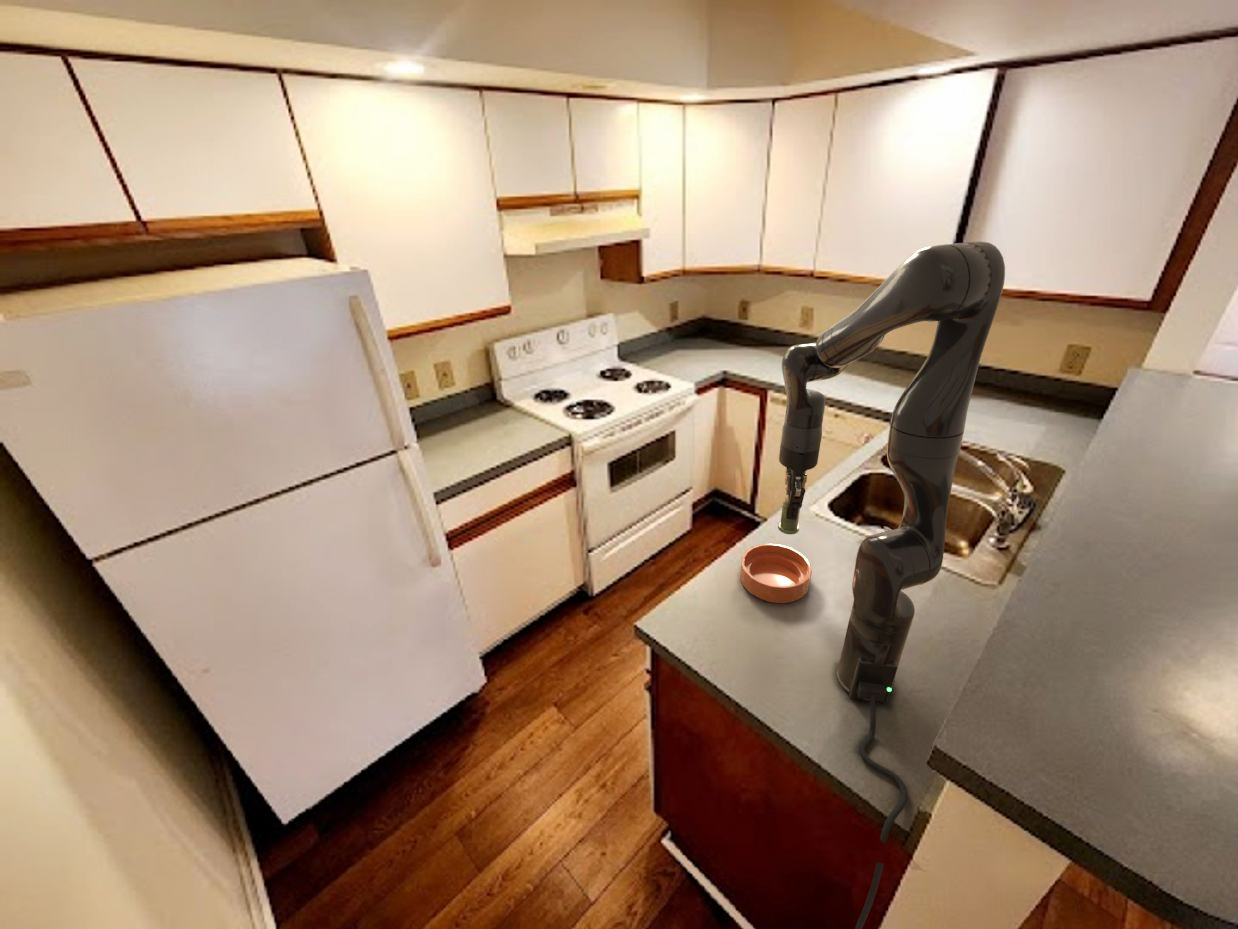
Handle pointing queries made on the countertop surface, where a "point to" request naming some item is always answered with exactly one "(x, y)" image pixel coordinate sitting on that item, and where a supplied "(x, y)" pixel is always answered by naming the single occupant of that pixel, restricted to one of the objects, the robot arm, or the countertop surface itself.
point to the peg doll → (788, 521)
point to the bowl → (775, 573)
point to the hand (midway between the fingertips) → (790, 512)
